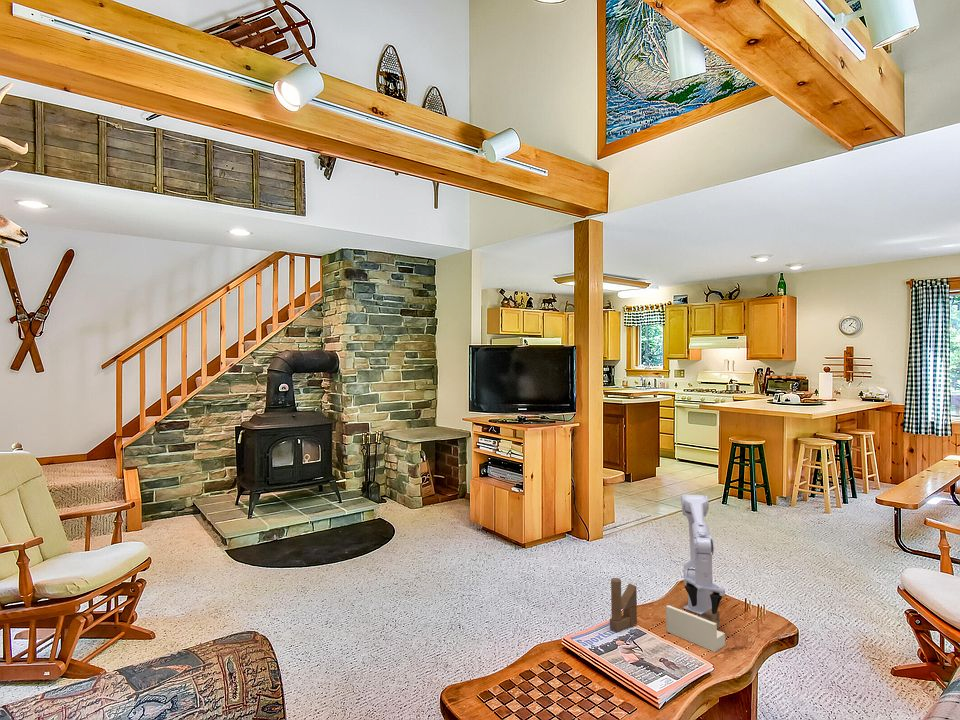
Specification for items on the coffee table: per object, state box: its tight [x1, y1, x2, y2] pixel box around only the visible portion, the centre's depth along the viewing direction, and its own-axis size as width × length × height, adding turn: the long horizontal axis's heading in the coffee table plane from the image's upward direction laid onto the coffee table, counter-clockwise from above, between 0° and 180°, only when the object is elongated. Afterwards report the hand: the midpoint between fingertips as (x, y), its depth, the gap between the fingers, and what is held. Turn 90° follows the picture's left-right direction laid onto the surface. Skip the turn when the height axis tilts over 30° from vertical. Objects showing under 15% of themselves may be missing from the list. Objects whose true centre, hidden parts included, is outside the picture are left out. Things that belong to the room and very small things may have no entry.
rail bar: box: [697, 608, 721, 630], centre depth 189 cm, size 14×3×6 cm, turn 129°
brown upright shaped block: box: [609, 577, 638, 633], centre depth 194 cm, size 4×11×18 cm, turn 122°
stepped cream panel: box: [665, 604, 726, 653], centre depth 185 cm, size 7×18×9 cm, turn 38°
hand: (704, 609), depth 189 cm, fingers open, 7 cm apart
